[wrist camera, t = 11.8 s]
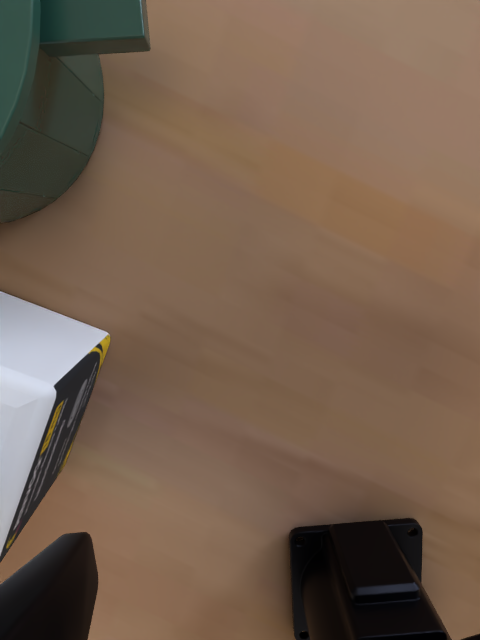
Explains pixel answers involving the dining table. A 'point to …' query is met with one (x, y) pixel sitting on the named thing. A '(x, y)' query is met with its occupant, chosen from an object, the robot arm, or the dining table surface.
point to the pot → (65, 99)
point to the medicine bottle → (39, 402)
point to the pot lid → (16, 61)
